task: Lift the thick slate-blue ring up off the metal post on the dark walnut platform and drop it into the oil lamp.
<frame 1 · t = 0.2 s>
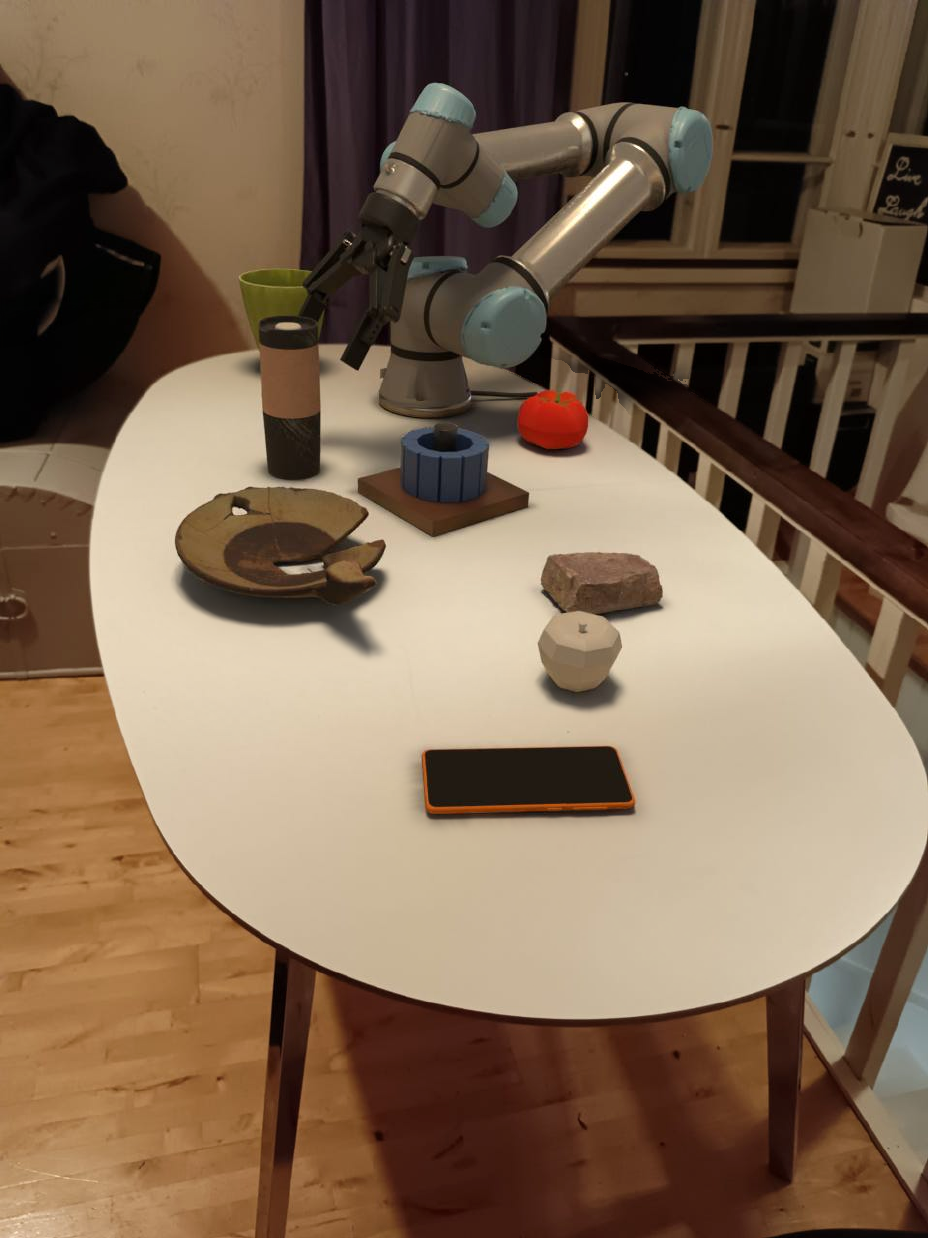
hand: (321, 354, 126), 16 cm above the table, tool tilted 35°, fingers open, 13 cm apart
oil lamp: (285, 583, 105), on the table
flower pot: (287, 371, 170), on the table
tomato: (551, 444, 146), on the table
ring: (443, 485, 125), point 2 cm above the table, touching platform
smartphone: (525, 784, 78), on the table
apple: (574, 683, 91), on the table
stone: (598, 598, 106), on the table
platform: (442, 499, 126), on the table
travel mug: (294, 471, 132), on the table
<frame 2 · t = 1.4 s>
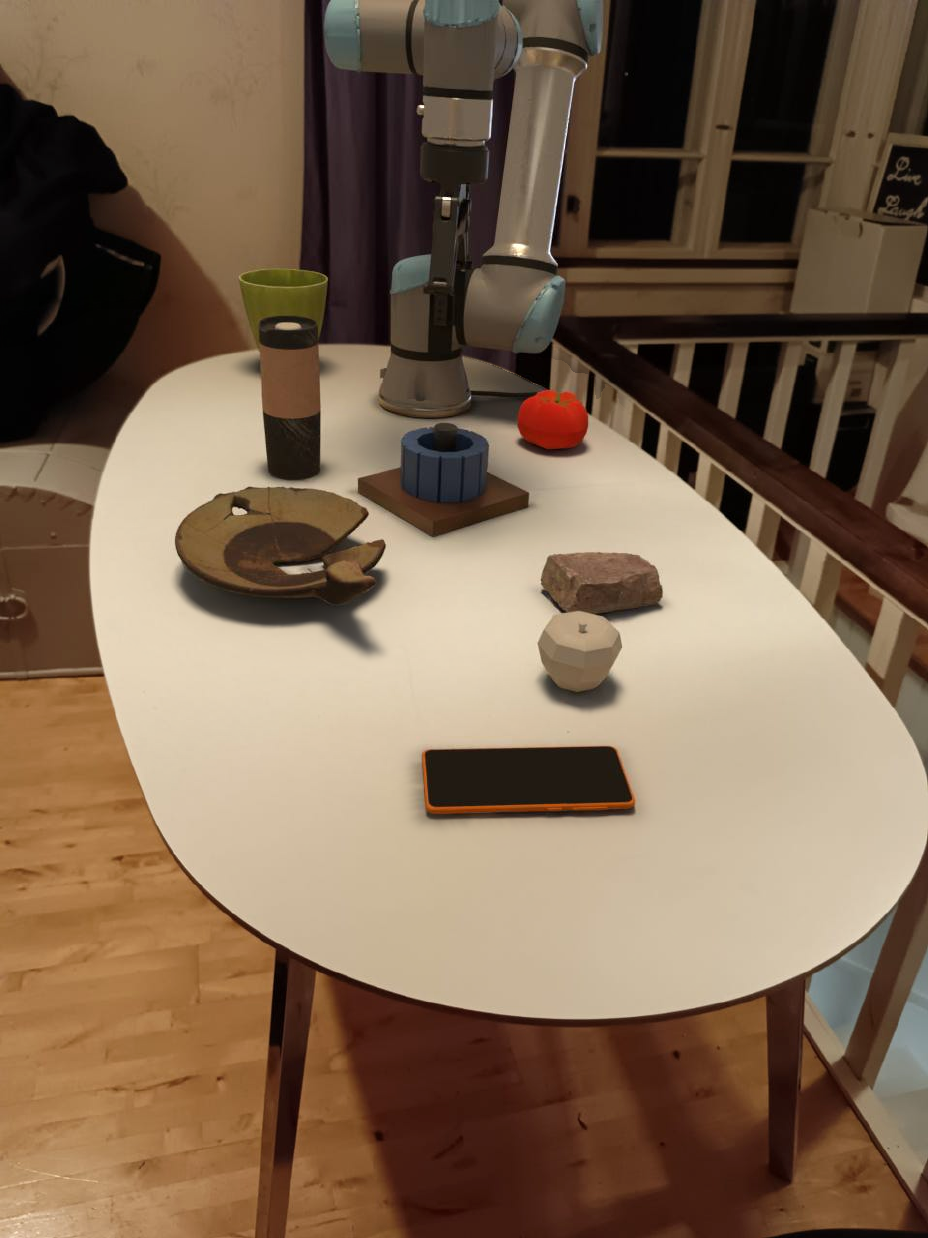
hand: (446, 338, 115), 21 cm above the table, tool pointing down, fingers open, 13 cm apart
nothing on the table moved.
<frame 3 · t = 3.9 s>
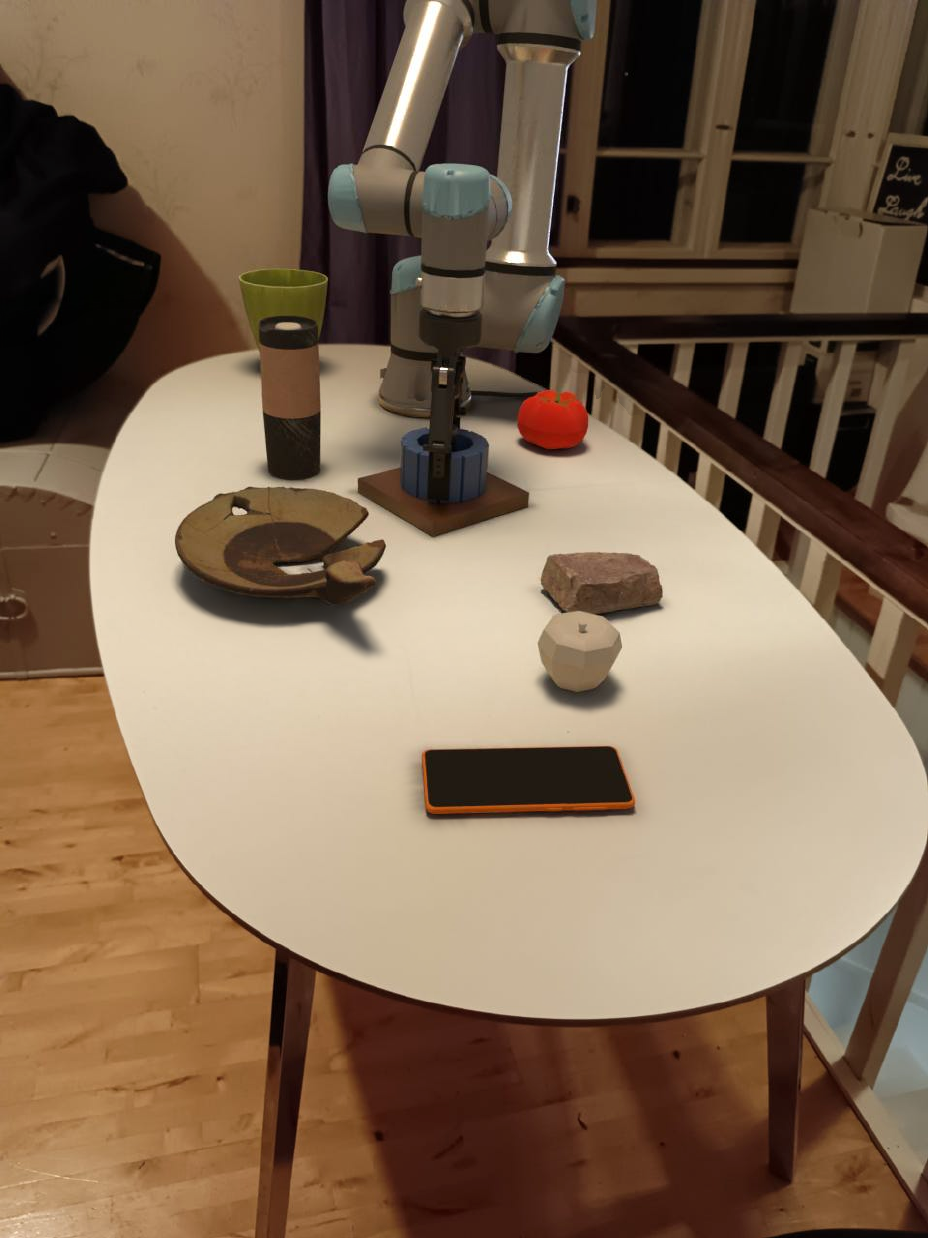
hand: (443, 480, 124), 3 cm above the table, tool pointing down, fingers closed on ring, 11 cm apart
ring: (443, 485, 125), point 2 cm above the table, touching gripper, platform
everything else where it was.
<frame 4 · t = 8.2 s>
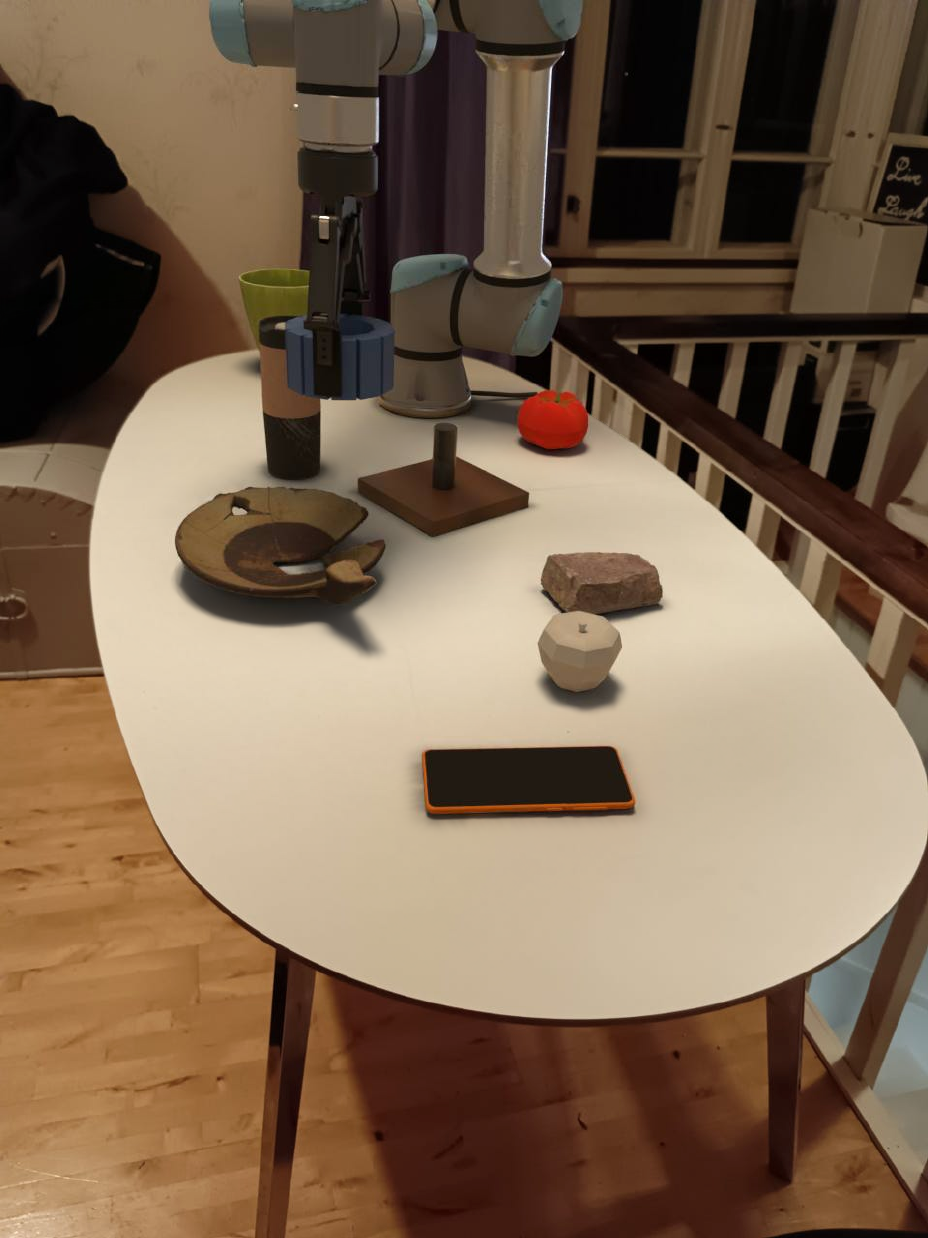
hand: (339, 378, 100), 21 cm above the table, tool pointing down, fingers closed on ring, 11 cm apart
ring: (340, 383, 101), point 20 cm above the table, touching gripper
everything else where it was.
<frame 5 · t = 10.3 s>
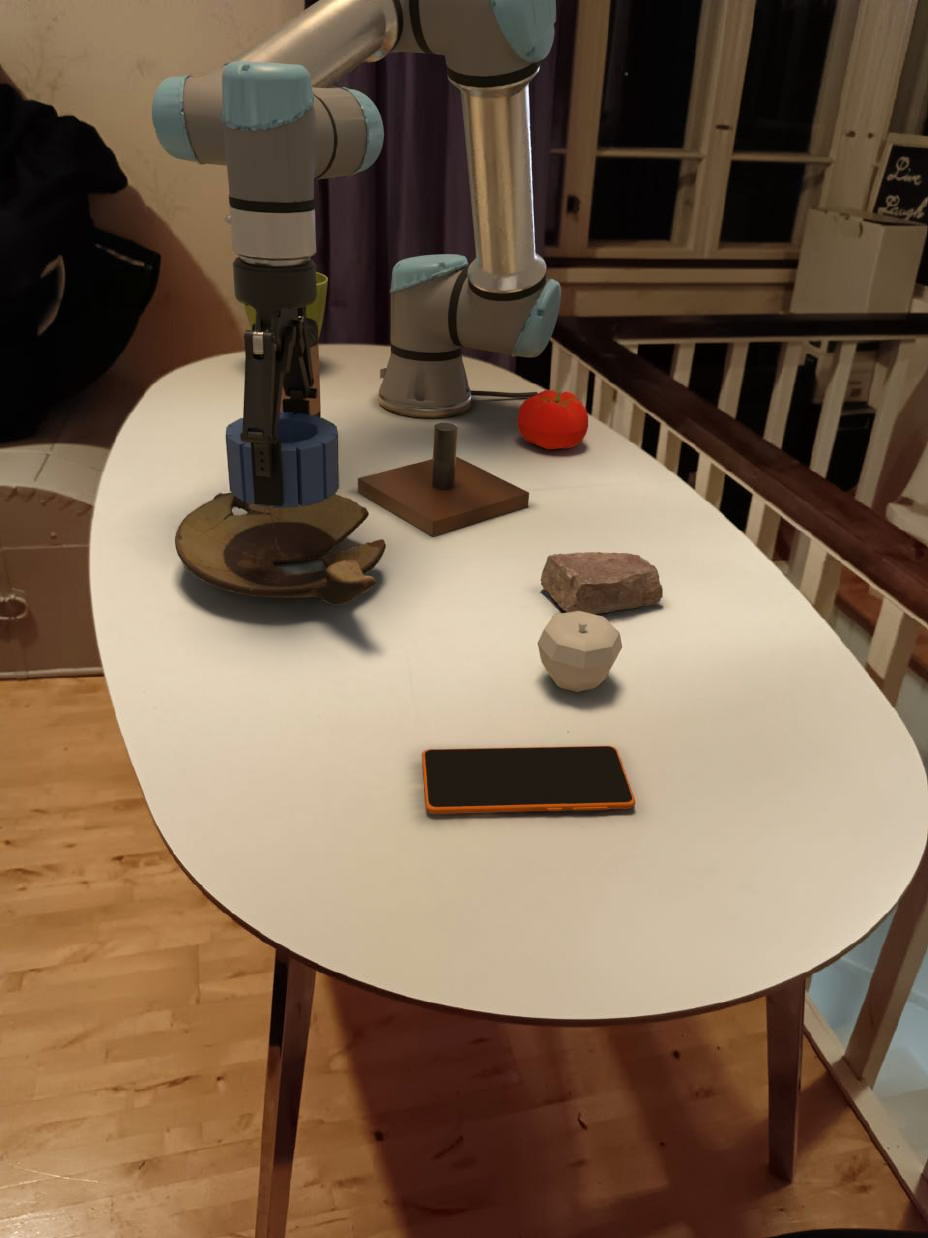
hand: (284, 480, 98), 12 cm above the table, tool pointing down, fingers closed on ring, 11 cm apart
ring: (284, 485, 99), point 11 cm above the table, touching gripper
everything else where it was.
when the fingers open (7 cm above the table, at t = 12.4 s): ring stays where it is, resting on oil lamp.
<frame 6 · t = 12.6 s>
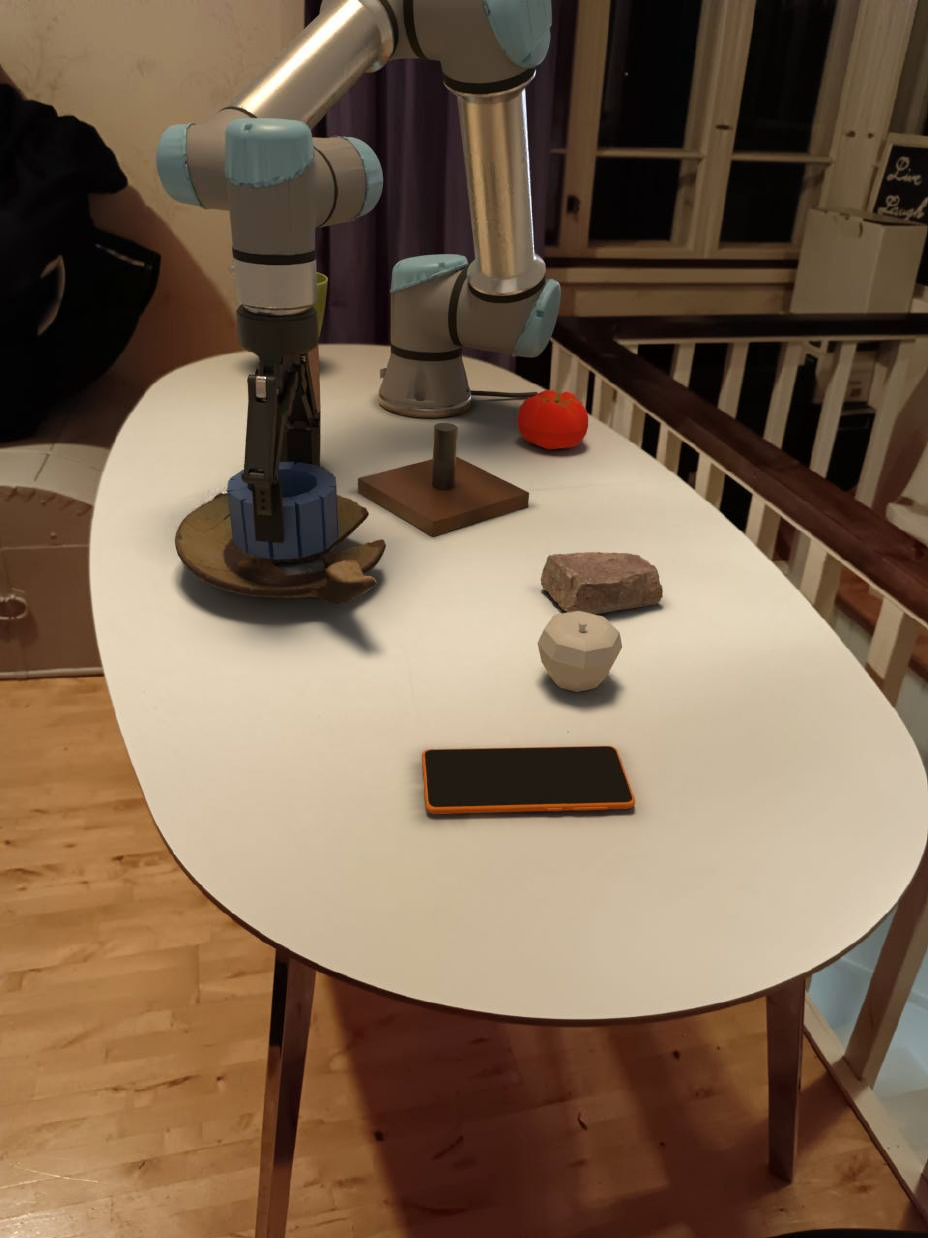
hand: (286, 512, 100), 8 cm above the table, tool pointing down, fingers open, 13 cm apart
oil lamp: (285, 583, 105), on the table, touching ring
ring: (286, 534, 102), point 6 cm above the table, touching oil lamp
everything else where it was.
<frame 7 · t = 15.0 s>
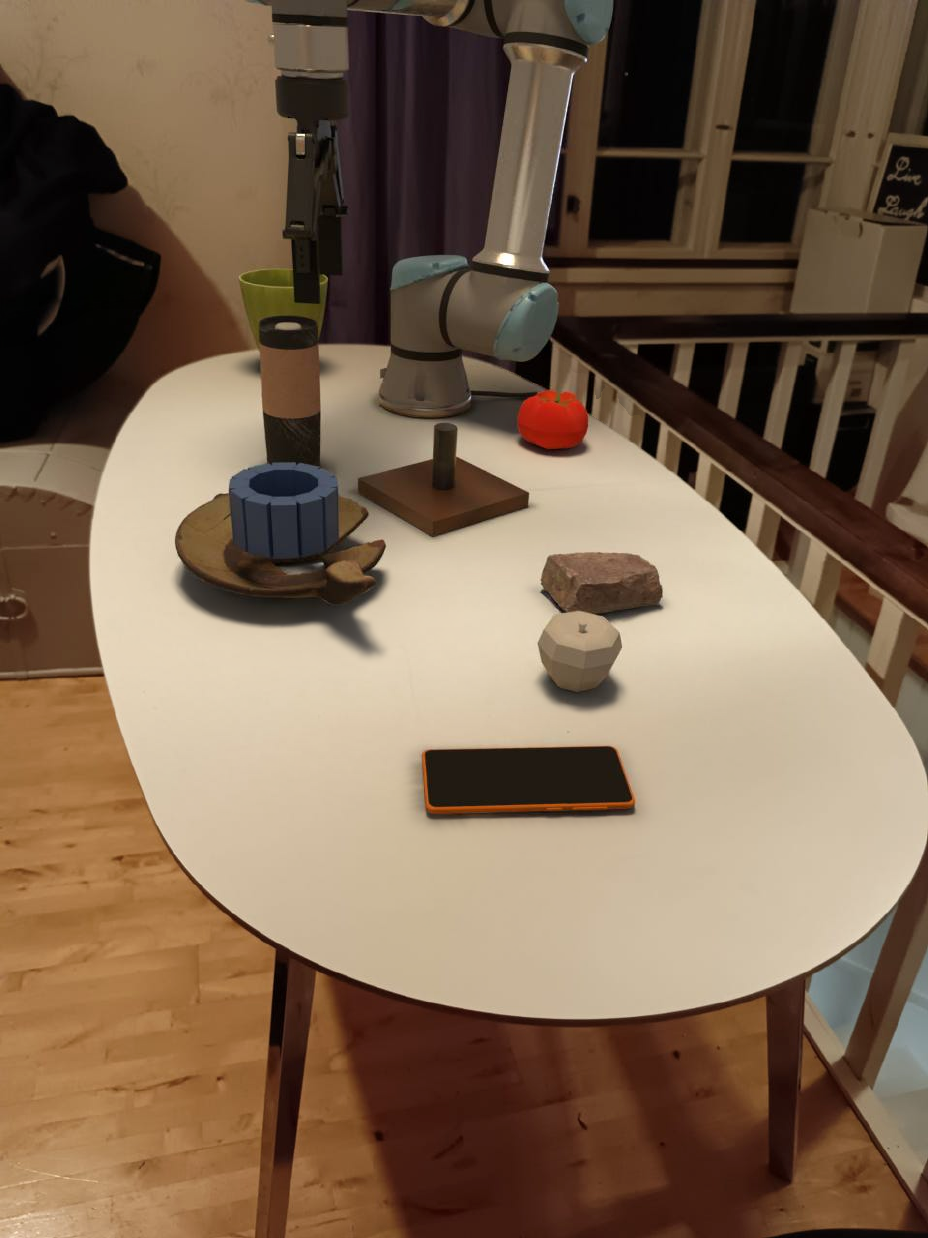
hand: (320, 288, 109), 27 cm above the table, tool pointing down, fingers open, 13 cm apart
nothing on the table moved.
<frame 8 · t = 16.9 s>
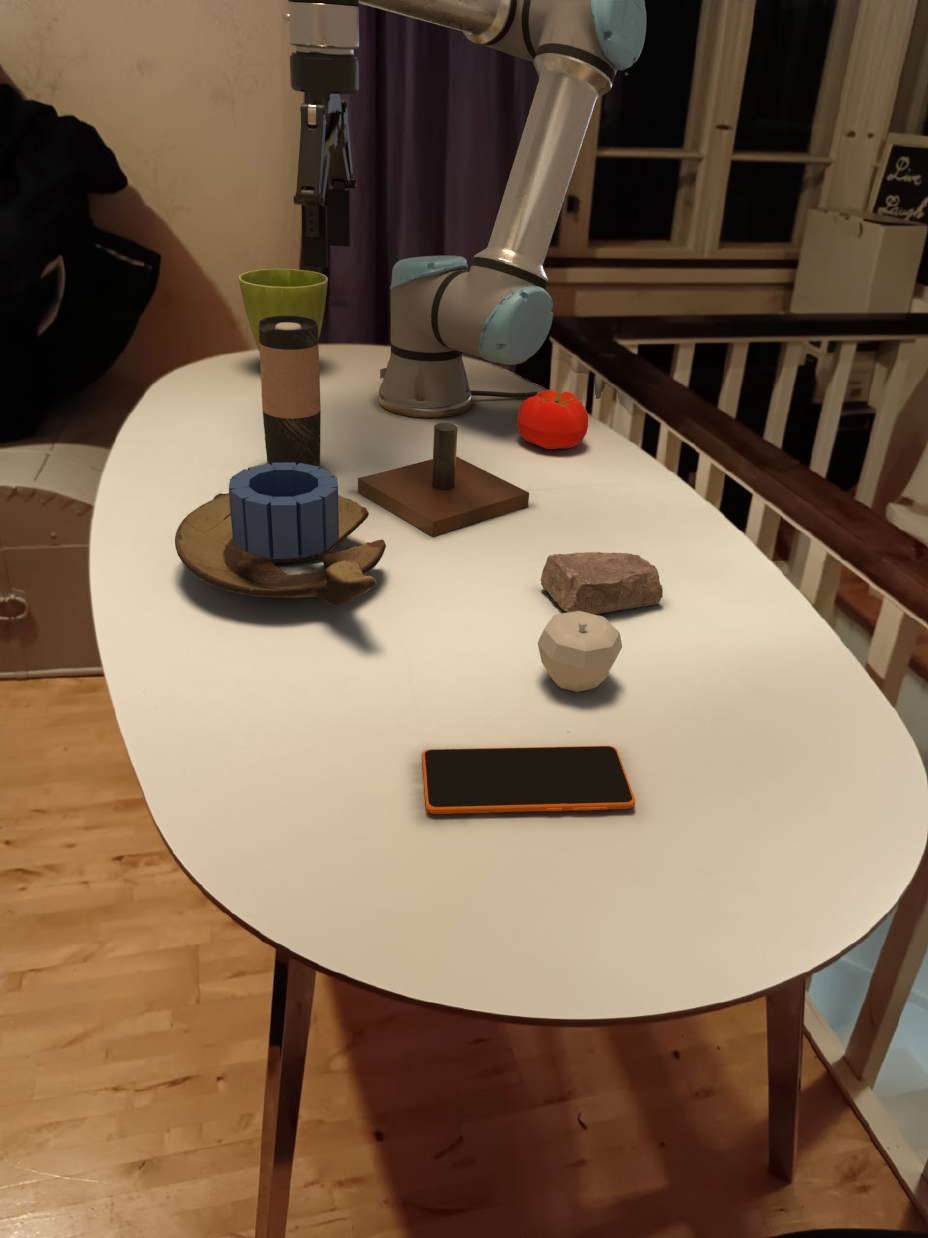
hand: (328, 255, 115), 29 cm above the table, tool pointing down, fingers open, 13 cm apart
nothing on the table moved.
at the end: ring inside the target area in the oil lamp (0.4 cm from its centre), point 6.0 cm above the oil lamp's base; ring touching oil lamp; the gripper is holding nothing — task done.
